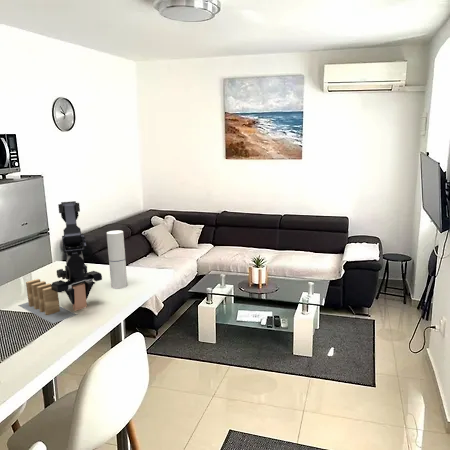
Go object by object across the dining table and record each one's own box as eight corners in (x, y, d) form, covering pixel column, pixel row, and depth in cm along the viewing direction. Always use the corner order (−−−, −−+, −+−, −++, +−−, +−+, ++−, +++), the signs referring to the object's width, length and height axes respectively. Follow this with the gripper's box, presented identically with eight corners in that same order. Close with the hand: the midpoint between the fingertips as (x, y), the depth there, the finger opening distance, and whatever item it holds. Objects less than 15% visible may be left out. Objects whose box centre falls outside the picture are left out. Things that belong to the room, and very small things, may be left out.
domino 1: (28, 305, 175) (25, 282, 173) (40, 302, 179) (38, 278, 177) (31, 306, 174) (27, 283, 172) (43, 303, 178) (40, 279, 176)
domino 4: (45, 314, 167) (42, 289, 165) (57, 310, 170) (54, 285, 168) (47, 315, 165) (44, 290, 163) (59, 311, 169) (57, 286, 167)
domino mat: (18, 307, 176) (18, 305, 176) (42, 299, 184) (42, 297, 184) (52, 325, 158) (52, 323, 158) (77, 316, 166) (77, 314, 165)
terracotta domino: (73, 310, 170) (70, 286, 168) (84, 306, 174) (82, 282, 172) (75, 311, 169) (73, 287, 167) (87, 307, 173) (84, 283, 171)
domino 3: (39, 311, 170) (36, 286, 167) (51, 307, 173) (49, 283, 171) (41, 312, 168) (38, 287, 166) (54, 308, 172) (51, 284, 170)
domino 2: (34, 308, 172) (31, 284, 170) (46, 304, 176) (43, 281, 174) (36, 309, 171) (33, 285, 169) (48, 305, 175) (45, 281, 173)
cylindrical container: (113, 289, 193) (108, 234, 188) (109, 285, 199) (104, 231, 194) (129, 286, 196) (125, 232, 191) (125, 282, 203) (120, 229, 197)
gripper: (85, 254, 180) (89, 290, 183) (41, 265, 166) (46, 304, 169) (101, 259, 173) (104, 296, 176) (56, 271, 159) (61, 311, 162)
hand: (79, 301), depth 171 cm, fingers closed on terracotta domino, 5 cm apart
